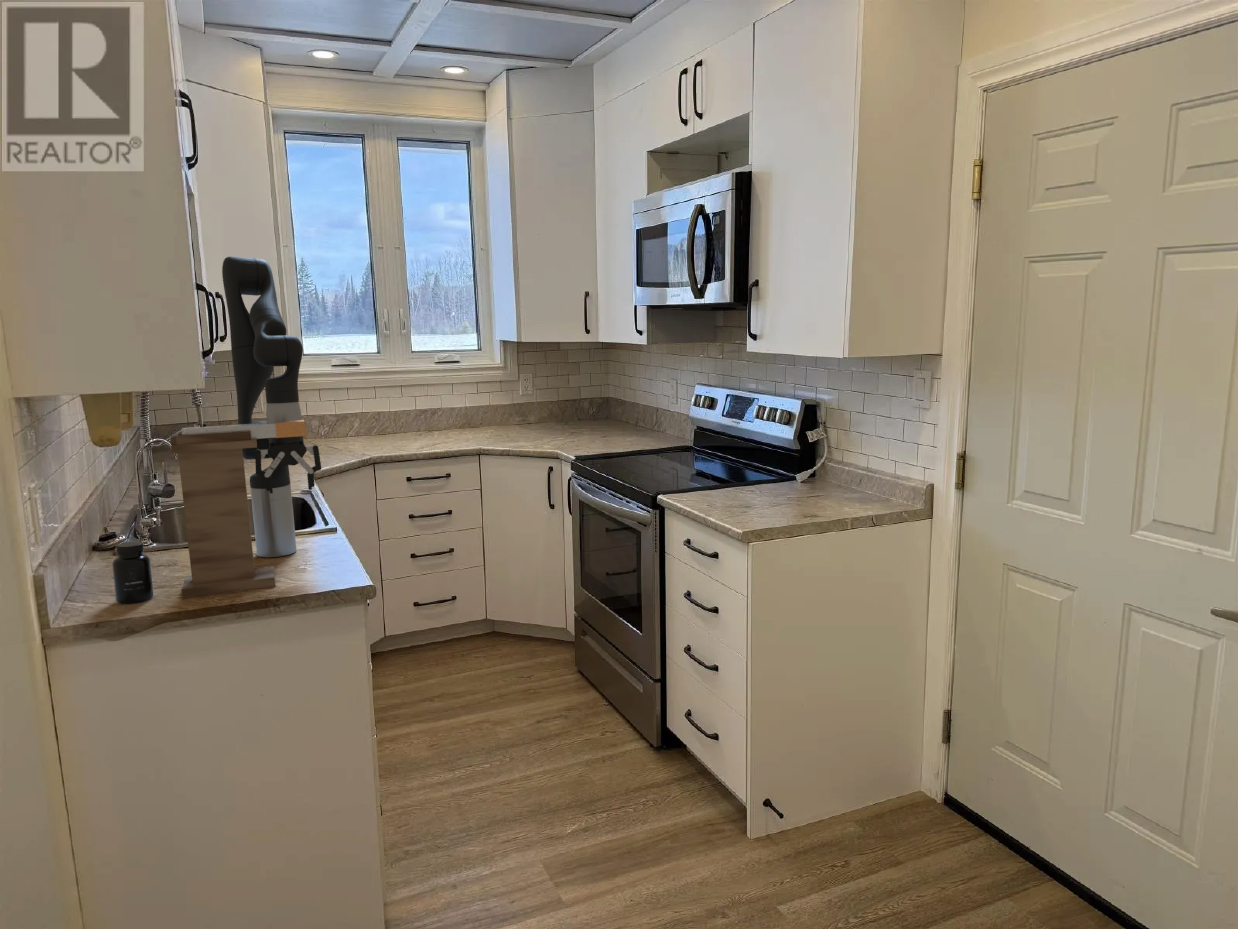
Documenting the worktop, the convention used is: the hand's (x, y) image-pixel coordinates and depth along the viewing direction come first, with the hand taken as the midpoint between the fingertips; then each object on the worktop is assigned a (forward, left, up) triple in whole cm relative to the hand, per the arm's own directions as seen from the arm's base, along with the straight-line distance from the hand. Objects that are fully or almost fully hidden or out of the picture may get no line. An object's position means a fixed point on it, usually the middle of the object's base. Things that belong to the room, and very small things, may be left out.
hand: (290, 491), depth 194 cm
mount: (+12, -14, -18) cm, 26 cm away
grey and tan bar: (+12, -8, +14) cm, 20 cm away
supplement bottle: (+13, -32, -18) cm, 39 cm away
